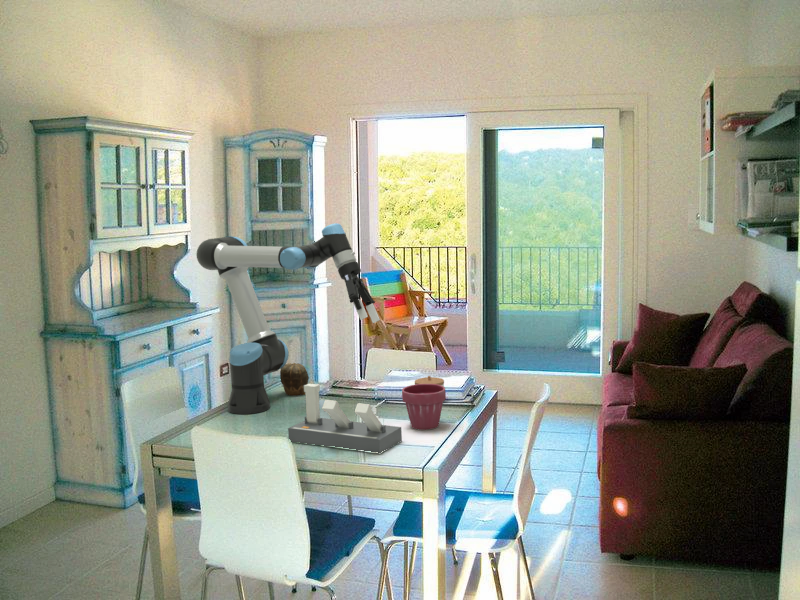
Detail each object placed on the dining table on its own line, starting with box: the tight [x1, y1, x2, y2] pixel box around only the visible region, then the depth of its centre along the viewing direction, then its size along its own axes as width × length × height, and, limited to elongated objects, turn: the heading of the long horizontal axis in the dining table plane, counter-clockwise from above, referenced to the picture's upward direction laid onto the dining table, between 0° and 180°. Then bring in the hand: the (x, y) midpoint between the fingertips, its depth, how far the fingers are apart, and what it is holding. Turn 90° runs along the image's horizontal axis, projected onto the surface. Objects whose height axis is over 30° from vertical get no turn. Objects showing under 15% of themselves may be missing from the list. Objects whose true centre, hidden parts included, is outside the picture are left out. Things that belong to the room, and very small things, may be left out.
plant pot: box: [401, 384, 447, 431], centre depth 284 cm, size 14×14×13 cm
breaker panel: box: [287, 415, 403, 454], centre depth 271 cm, size 14×33×7 cm, turn 62°
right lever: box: [354, 402, 383, 431], centre depth 261 cm, size 3×4×12 cm
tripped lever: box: [304, 383, 321, 424], centre depth 275 cm, size 3×4×12 cm
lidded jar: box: [414, 375, 445, 387], centre depth 316 cm, size 11×11×9 cm
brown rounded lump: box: [279, 362, 310, 397], centre depth 334 cm, size 11×11×12 cm
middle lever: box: [321, 399, 351, 427], centre depth 267 cm, size 3×4×12 cm
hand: (370, 320), depth 298 cm, fingers open, 13 cm apart
